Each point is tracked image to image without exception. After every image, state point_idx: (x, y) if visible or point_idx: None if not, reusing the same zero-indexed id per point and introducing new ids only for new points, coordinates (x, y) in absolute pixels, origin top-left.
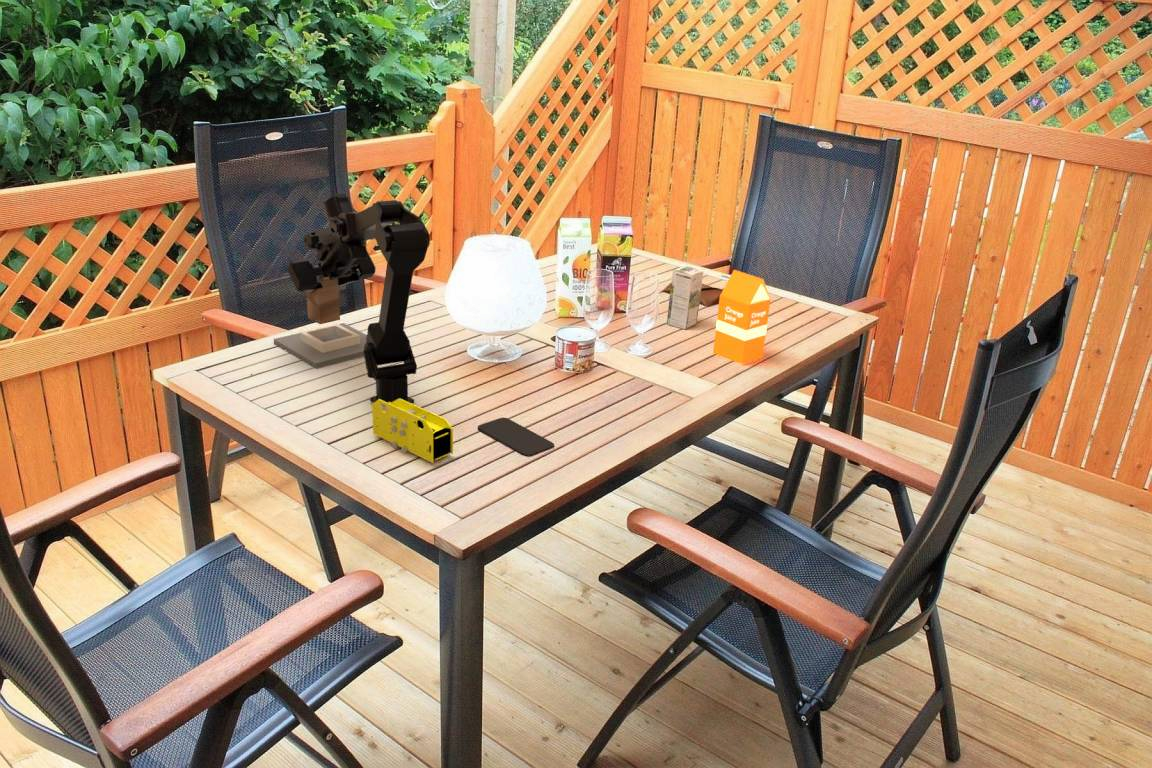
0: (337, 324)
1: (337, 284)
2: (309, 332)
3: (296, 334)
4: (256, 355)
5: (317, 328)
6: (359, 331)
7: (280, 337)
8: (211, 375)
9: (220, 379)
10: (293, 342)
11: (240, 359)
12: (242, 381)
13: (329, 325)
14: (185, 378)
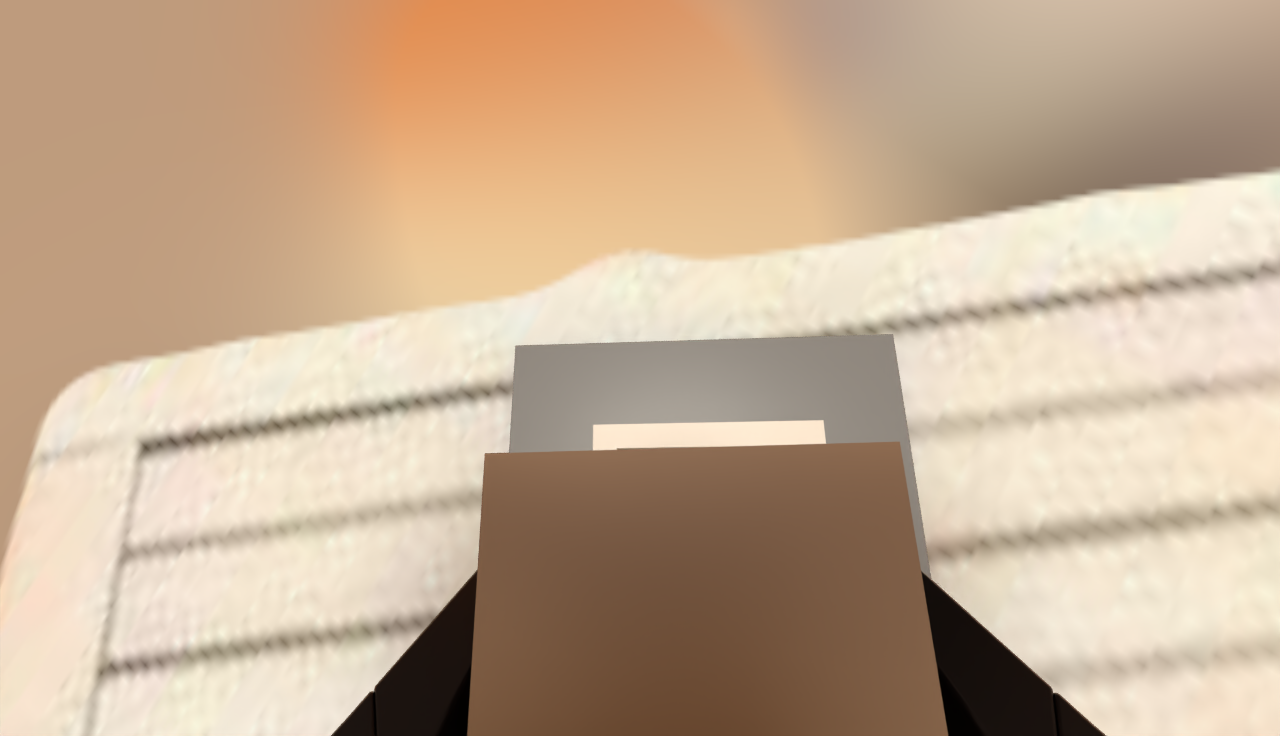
0: (819, 433)
1: None
2: (637, 447)
3: (625, 350)
4: (396, 431)
5: (695, 428)
6: (914, 489)
7: (548, 346)
8: (143, 530)
9: (136, 597)
10: (560, 437)
11: (325, 434)
12: (177, 682)
13: (773, 422)
14: (64, 497)
